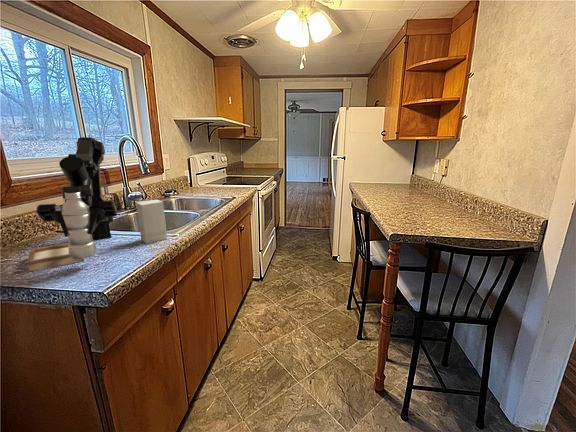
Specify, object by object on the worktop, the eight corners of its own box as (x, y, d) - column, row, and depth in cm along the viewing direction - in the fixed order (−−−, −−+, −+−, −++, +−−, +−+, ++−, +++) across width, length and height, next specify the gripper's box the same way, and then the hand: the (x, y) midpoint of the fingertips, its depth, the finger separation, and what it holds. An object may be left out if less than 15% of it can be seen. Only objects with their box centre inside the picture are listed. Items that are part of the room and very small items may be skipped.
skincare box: (161, 235, 113) (158, 199, 110) (168, 239, 109) (164, 201, 105) (140, 240, 108) (135, 201, 104) (145, 244, 103) (140, 204, 99)
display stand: (81, 249, 97) (80, 241, 96) (84, 260, 87) (82, 252, 87) (32, 257, 89) (30, 249, 88) (29, 271, 79) (27, 262, 79)
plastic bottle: (102, 255, 84) (92, 191, 79) (79, 263, 78) (67, 194, 73) (87, 251, 86) (77, 189, 81) (64, 259, 80) (51, 192, 75)
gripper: (31, 176, 76) (24, 224, 69) (110, 174, 84) (111, 217, 77) (46, 199, 84) (41, 244, 78) (116, 195, 92) (117, 235, 86)
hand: (78, 234), depth 79 cm, fingers closed on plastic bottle, 5 cm apart
